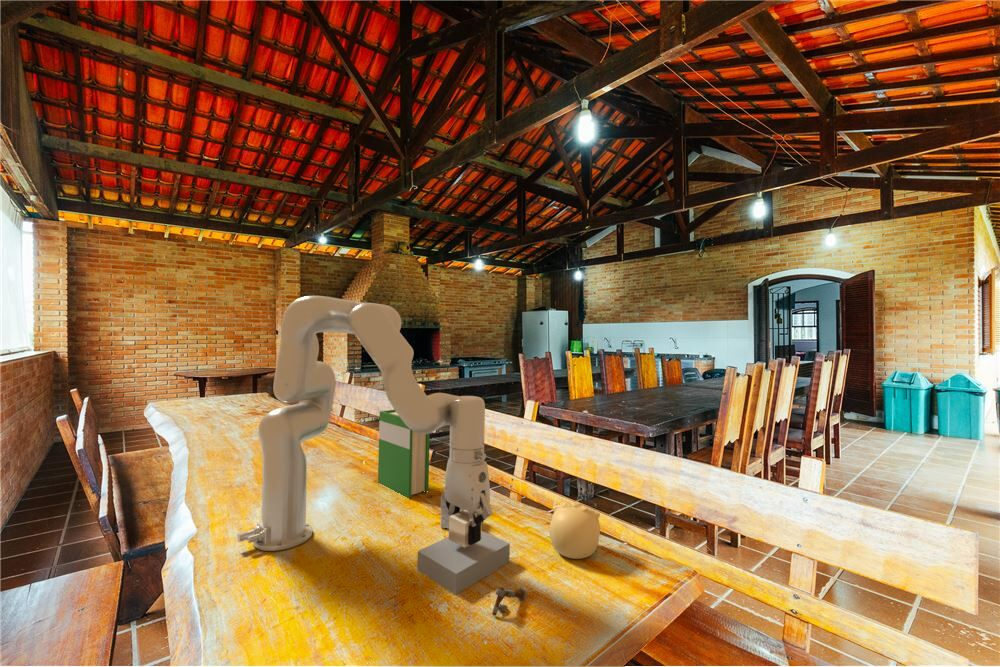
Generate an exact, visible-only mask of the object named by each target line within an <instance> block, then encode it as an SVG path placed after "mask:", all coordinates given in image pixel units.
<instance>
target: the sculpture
mask: <svg viewBox="0 0 1000 667" xmlns="http://www.w3.org/2000/svg"><path fill="white" fill-rule="evenodd" d="M552 510H553V514H552V516H551V520H550V524H549V538H550V542H551V545H552V546H553V548H554V550H555V551H556V552H557V553H558V554H560V555H562V556H564V557H566V558H569V559H577V560H579V559H584V558H588V557H590V556H591V555H593V554H594V553H595V552H596V550H597V548H598V546H599V542H600V536H601V526H600V525H601V524H600V519H599V518H600V515H601V513H600V512H598V511H597V510H595V509H593V508H590V507H587V506H585V505H584V504H583V503H582V502H578V501H572V502H570V503H566V504H565V503H561V504H556V505H553V507H552Z"/></svg>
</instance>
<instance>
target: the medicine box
mask: <svg viewBox="0 0 1000 667" xmlns="http://www.w3.org/2000/svg"><path fill="white" fill-rule="evenodd" d="M463 510H464V509H461V511H463ZM448 511H449V510H448V508H447V506H446V503H445V501H444V500H443V498H442V495H441V496H440V528H441V529H445V528H447V530H449V515H448Z"/></svg>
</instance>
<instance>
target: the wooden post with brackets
mask: <svg viewBox="0 0 1000 667" xmlns="http://www.w3.org/2000/svg"><path fill="white" fill-rule="evenodd" d="M527 593H528V591H527V590H526V589H524V588H523V587H521V586H519V587H518V589H516V590H512V589H505V588H504V587H503V586H500V587H499V588H498V587H497V588H496V590H495V595H496V600H495V603H494V605H493V608H492V613H491V615H492V616H495V617H496V616H497V614H498V612H501V613H504V612H506V611H507V610H508V605H506V604H504V603H503V604H502V603H501V602H502V601H503V599H504V598H505V597H507V598H512V599H513V598H518V599H519V598H520V599H519V600H521V601H522V600H526V595H527ZM505 610H506V611H505Z"/></svg>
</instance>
